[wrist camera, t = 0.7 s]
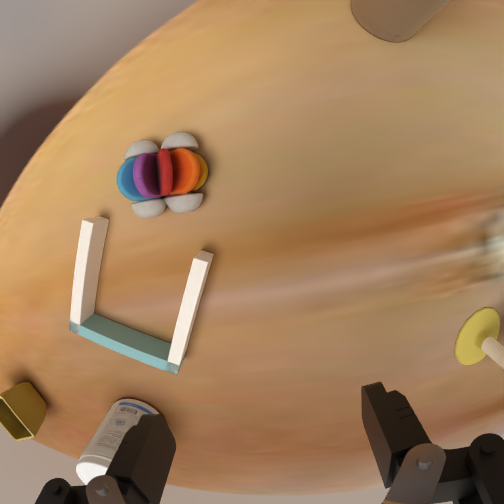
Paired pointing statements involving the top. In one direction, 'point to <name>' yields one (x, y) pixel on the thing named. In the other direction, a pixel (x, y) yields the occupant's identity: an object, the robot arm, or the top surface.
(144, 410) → the supplement tub
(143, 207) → the multicoloured petal flower toy
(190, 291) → the bay
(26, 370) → the top surface
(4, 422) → the flower pot
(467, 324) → the candle
